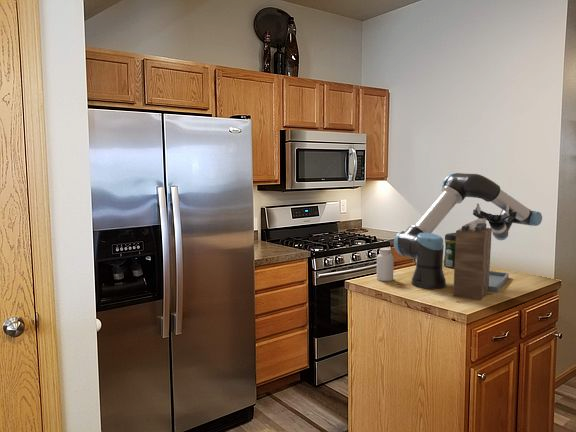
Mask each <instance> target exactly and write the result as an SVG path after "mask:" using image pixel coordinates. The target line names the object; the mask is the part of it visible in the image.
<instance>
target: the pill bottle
mask: <svg viewBox="0 0 576 432" xmlns="http://www.w3.org/2000/svg"><path fill="white" fill-rule="evenodd" d="M391 253H392V249H391V248H387V247H382V248H379V254H377V256H376V280H378V281H379V282H380V281H382V282H391V281H393V280H394V267H395V266H394V264H395V263H394V261H395V260H394V255H393V254H391Z"/></svg>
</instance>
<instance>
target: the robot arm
mask: <svg viewBox="0 0 576 432" xmlns="http://www.w3.org/2000/svg"><path fill="white" fill-rule="evenodd" d="M441 187H442V188H441V194H440V195H439V196H438V198H437V199H435V200H434V202H433V203H432V205H431V206H429V208H428V209H427V210H426V212H425V213H424V214H423V215H421V217H420V218H419V220H417V222H416V223H415V224H414V225H410V226H408V228H406V230H405V231H399V232H398V233H396V235H395V237H394V239H393V248H394V250H395V251H396V253H397V254H398V255H401V256H403V257H406V258H407V257H408V258H410V259H411V258H412V259H414V260H415V264H416V265H415V269H414V272H413V274H412V277H411V285H413V286H415V287H417V288H421V289H429V290H430V289H431V290H433V289H435V290H439V289H444V288H446V286H447V284H446V283H447V281H446V278H445V273H444V270H443V266H444V250H445V248H444V245H445V244H444V238H443V237H442V236H441V235H439V234H435V233H433V232H434V231H435V230H436V228H437V227H438V226H439V225H440V224H441V222H442V221H443V220H444V219H445V218H446V217H447V215H448V214H449V213H450V211H452V209H453V208H454V207H455V206H456V205H457V204H458V205H459V204H461V203H462V202H463V201H464V200H465V199H466V198H474V199H475V198H476V199H481V200H483V201H485V202H487V203H491V204H493V205H494V206H496V207H498V208H500V209H501V212H500V214H492V213H488V212H485V211H483V210H481V207H480V204H479V203H476V207H475V209H473V211H472V215H473V216H474V217H476V218H477V219H486V222H488V224H489V228H492V236H493V237H494V239H496V240H497V241H504V240H506V239H507V238H508V237H509V231H510V229H511V227H512V225H513V224H518V225H525V226H529V227H530V226H531V227H533V226H534V227H538V226H540V224H541V223H542V221H543V215H542V213H541V212H539V211H536V210H532V209H530V208H528V207H527V206H525V205H524V204H523V203H521V202H520V201H518V200H517V199H515V198H514V197H512V196H511V195H509V194H508V193H507V192H505V191H504V190H502V189H501V186H500V185H499V184H498V183H496V182H495V181H493V180H491V178H488V177H486V176H485V175H482V174H478V173H463V172H462V173H461V172H454V173H450V174H447V176H446V177H445V178H444V180H443V181H442V185H441Z"/></svg>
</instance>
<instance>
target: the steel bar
mask: <svg viewBox="0 0 576 432" xmlns="http://www.w3.org/2000/svg"><path fill="white" fill-rule="evenodd" d="M486 222H487V220H486V219H479V218H477V219H475V220H473V221H470V222H468V223H469V229H468V230H470V231H475V227H477V226H478V225H480V224H482V223H486Z"/></svg>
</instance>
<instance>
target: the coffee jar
mask: <svg viewBox="0 0 576 432" xmlns="http://www.w3.org/2000/svg"><path fill="white" fill-rule="evenodd" d="M444 245H445V248H444V256H443V266H444V267H446V268H448V269H449V268H451V269H454V268H455V246H456V232H450V233H446V234H445V235H444Z"/></svg>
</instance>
